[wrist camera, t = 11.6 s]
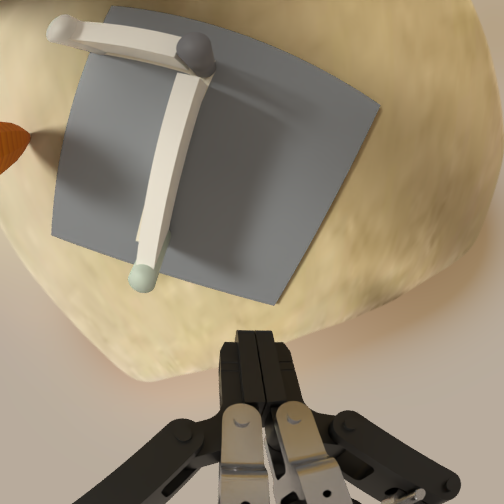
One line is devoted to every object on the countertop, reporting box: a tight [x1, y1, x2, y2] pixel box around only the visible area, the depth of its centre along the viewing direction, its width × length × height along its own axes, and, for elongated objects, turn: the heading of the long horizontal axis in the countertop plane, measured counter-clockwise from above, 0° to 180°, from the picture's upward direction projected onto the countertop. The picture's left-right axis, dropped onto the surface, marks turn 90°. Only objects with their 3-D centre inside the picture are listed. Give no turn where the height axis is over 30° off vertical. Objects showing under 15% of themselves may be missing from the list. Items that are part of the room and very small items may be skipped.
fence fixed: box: [46, 14, 216, 78], centre depth 12 cm, size 10×2×8 cm, turn 67°
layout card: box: [51, 6, 380, 306], centre depth 20 cm, size 23×21×1 cm
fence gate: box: [128, 73, 207, 293], centre depth 17 cm, size 13×2×7 cm, turn 162°
